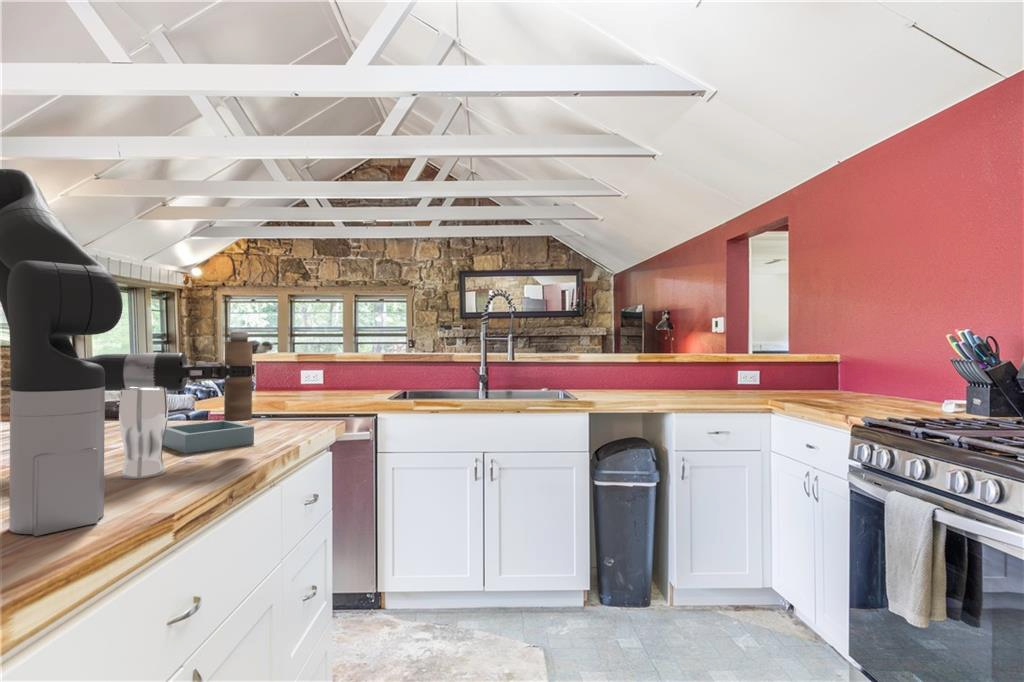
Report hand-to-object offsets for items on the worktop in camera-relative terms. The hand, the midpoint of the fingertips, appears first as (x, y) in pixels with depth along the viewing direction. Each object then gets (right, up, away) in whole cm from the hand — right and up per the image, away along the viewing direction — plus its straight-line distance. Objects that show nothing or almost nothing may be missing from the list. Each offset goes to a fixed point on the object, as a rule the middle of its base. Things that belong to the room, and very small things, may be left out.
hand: (252, 370), depth 109 cm
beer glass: (-10, -17, -18) cm, 27 cm away
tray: (-14, -17, +8) cm, 23 cm away
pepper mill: (-2, -10, -1) cm, 10 cm away
